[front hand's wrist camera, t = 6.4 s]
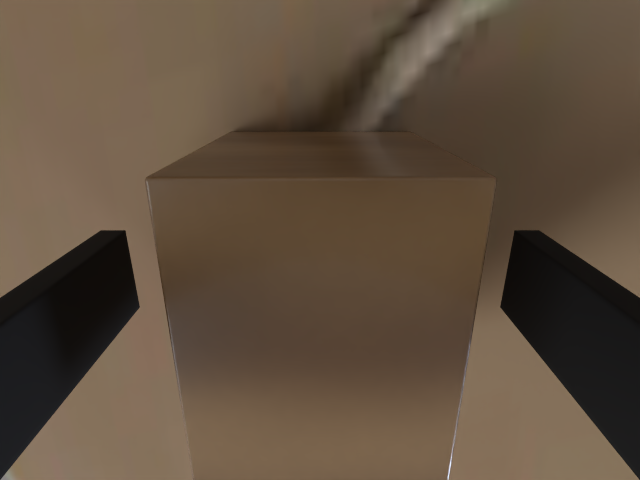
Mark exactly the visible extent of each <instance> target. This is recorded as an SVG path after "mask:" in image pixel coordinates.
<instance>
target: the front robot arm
mask: <svg viewBox="0 0 640 480" xmlns="http://www.w3.org/2000/svg"><path fill="white" fill-rule="evenodd" d="M139 307H140V306H139V301H138V296H137V290H136V285H135V280H134V274H133V269H132V264H131V258H130V253H129V247H128V242H127V237H126V231H125V230H101V231H99V232H98V233H96V234H95V235H93V236H92V237H90V238H89V239H87V240H86V241H84V242H83V243H81V244H80V245H79V246H77V247H76V248H74V249H73V250H71V251H70V252H68V253H67V254H65V255H64V256H62V257H61V258H59V259H58V260H56V261H55V262H53V263H52V264H50V265H49V266H47V267H46V268H44V269H43V270H41V271H40V272H38V273H37V274H35V275H34V276H32V277H31V278H29V279H28V280H26V281H25V282H23V283H22V284H20V285H19V286H17V287H16V288H14V289H13V290H11V291H10V292H8V293H7V294H5V295H4V296H2V297H1V298H0V479H1V478H2V477H3V476H4V475H5V473H6V472H7V471H8V470H9V468H10V467H11V466H12V465H13V463H14V462H15V461H16V460H17V458H18V457H19V456H20V455H21V453H22V452H23V451H24V450H25V449H26V447H27V446H28V445H29V444H30V442H31V441H32V440H33V439H34V437H35V436H36V435H37V434H38V432H39V431H40V430H41V429H42V427H43V426H44V425H45V424H46V423H47V421H48V420H49V419H50V418H51V416H52V415H53V414H54V413H55V411H56V410H57V409H58V408H59V406H60V405H61V404H62V403H63V401H64V400H65V399H66V398H67V397H68V395H69V394H70V393H71V392H72V390H73V389H74V388H75V387H76V385H77V384H78V383H79V382H80V380H81V379H82V378H83V377H84V375H85V374H86V373H87V372H88V370H89V369H90V368H91V367H92V366H93V364H94V363H95V362H96V361H97V359H98V358H99V357H100V356H101V354H102V353H103V352H104V351H105V349H106V348H107V347H108V346H109V344H110V343H111V342H112V341H113V340H114V338H115V337H116V336H117V335H118V333H119V332H120V331H121V330H122V328H123V327H124V326H125V325H126V323H127V322H128V321H129V320H130V318H131V317H132V316H133V315H134V314H135V312H136V311H137V310H138V309H139ZM500 307H501V309H502V310H503V311H504V312H505V314H506V315H507V316H508V317H509V318H510V320H511V321H512V322H513V323H514V325H515V326H516V327H517V328H518V330H519V331H520V332H521V333H522V335H523V336H524V337H525V338H526V340H527V341H528V342H529V343H530V344H531V346H532V347H533V348H534V349H535V351H536V352H537V353H538V354H539V356H540V357H541V358H542V359H543V361H544V362H545V363H546V364H547V366H548V367H549V368H550V369H551V371H552V372H553V373H554V374H555V375H556V377H557V378H558V379H559V380H560V382H561V383H562V384H563V385H564V387H565V388H566V389H567V390H568V392H569V393H570V394H571V395H572V397H573V398H574V399H575V400H576V401H577V403H578V404H579V405H580V406H581V408H582V409H583V410H584V411H585V413H586V414H587V415H588V416H589V418H590V419H591V420H592V421H593V423H594V424H595V425H596V426H597V427H598V429H599V430H600V431H601V432H602V434H603V435H604V436H605V437H606V439H607V440H608V441H609V442H610V444H611V445H612V446H613V447H614V449H615V450H616V451H617V452H618V454H619V455H620V456H621V457H622V458H623V460H624V461H625V462H626V463H627V465H628V466H629V467H630V468H631V470H632V471H633V472H634V473H635V475H636V476H637V477H638V478H639V480H640V298H639V297H638V296H636V295H635V294H633V293H632V292H630V291H629V290H627V289H626V288H624V287H623V286H621V285H620V284H618V283H617V282H615V281H614V280H612V279H611V278H609V277H608V276H606V275H605V274H603V273H602V272H600V271H599V270H597V269H596V268H594V267H593V266H591V265H590V264H588V263H587V262H585V261H584V260H582V259H581V258H579V257H578V256H576V255H575V254H573V253H572V252H570V251H569V250H567V249H566V248H564V247H563V246H561V245H560V244H558V243H557V242H556V241H554V240H553V239H551V238H550V237H548V236H547V235H545V234H544V233H542V232H541V231H539V230H515V231H514V237H513V242H512V247H511V253H510V258H509V263H508V269H507V274H506V279H505V285H504V290H503V296H502V301H501V306H500Z"/></svg>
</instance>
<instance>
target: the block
mask: <svg viewBox="0 0 640 480" xmlns="http://www.w3.org/2000/svg"><path fill="white" fill-rule="evenodd" d="M145 183H146V189H147V195H148V202H149V208H150V214H151V220H152V227H153V233H154V239H155V245H156V251H157V258H158V264H159V270H160V276H161V283H162V289H163V295H164V301H165V308H166V314H167V320H168V326H169V332H170V339H171V345H172V351H173V357H174V364H175V370H176V376H177V382H178V389H179V395H180V401H181V407H182V413H183V420H184V426H185V432H186V438H187V445H188V451H189V457H190V463H191V470H192V476H193V480H448V479H449V473H450V467H451V461H452V455H453V449H454V442H455V436H456V430H457V424H458V418H459V412H460V405H461V399H462V393H463V387H464V381H465V375H466V369H467V362H468V356H469V350H470V344H471V338H472V332H473V325H474V319H475V313H476V307H477V301H478V295H479V288H480V282H481V276H482V270H483V264H484V258H485V252H486V245H487V239H488V233H489V227H490V221H491V215H492V208H493V202H494V196H495V190H496V184H497V179H496V177H494V176H492V175H490V174H488V173H487V172H485V171H483V170H481V169H479V168H477V167H475V166H474V165H472V164H470V163H468V162H466V161H464V160H462V159H460V158H459V157H457V156H455V155H453V154H451V153H449V152H447V151H446V150H444V149H442V148H440V147H438V146H436V145H434V144H433V143H431V142H429V141H427V140H425V139H423V138H421V137H419V136H418V135H416V134H414V133H412V132H230V133H228V134H226V135H224V136H222V137H220V138H218V139H217V140H215V141H213V142H211V143H209V144H207V145H205V146H204V147H202V148H200V149H198V150H196V151H194V152H192V153H191V154H189V155H187V156H185V157H183V158H181V159H179V160H178V161H176V162H174V163H172V164H170V165H168V166H166V167H165V168H163V169H161V170H159V171H157V172H155V173H153V174H152V175H150V176H148V177H146V179H145Z"/></svg>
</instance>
